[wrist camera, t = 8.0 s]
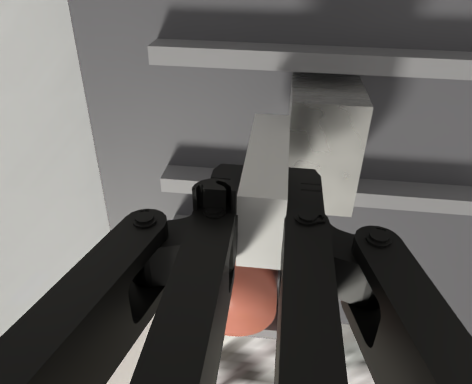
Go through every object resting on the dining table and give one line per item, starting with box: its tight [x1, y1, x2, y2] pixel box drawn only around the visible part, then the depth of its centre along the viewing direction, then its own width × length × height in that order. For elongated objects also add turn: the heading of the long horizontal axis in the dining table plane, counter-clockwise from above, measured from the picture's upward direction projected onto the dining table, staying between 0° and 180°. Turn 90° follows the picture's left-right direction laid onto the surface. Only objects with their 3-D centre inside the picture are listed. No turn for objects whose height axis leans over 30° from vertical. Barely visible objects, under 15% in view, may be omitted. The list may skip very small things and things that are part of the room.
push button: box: [225, 261, 278, 336], centre depth 25 cm, size 5×5×3 cm
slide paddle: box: [289, 72, 374, 217], centre depth 18 cm, size 3×5×4 cm, turn 179°
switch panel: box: [68, 0, 472, 339], centre depth 20 cm, size 24×28×6 cm
